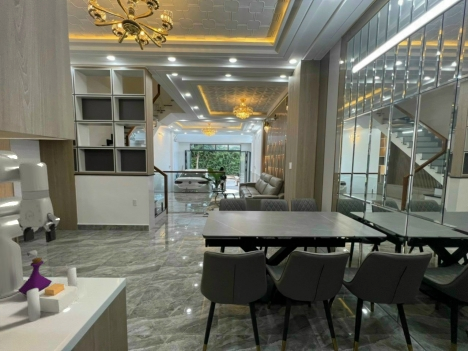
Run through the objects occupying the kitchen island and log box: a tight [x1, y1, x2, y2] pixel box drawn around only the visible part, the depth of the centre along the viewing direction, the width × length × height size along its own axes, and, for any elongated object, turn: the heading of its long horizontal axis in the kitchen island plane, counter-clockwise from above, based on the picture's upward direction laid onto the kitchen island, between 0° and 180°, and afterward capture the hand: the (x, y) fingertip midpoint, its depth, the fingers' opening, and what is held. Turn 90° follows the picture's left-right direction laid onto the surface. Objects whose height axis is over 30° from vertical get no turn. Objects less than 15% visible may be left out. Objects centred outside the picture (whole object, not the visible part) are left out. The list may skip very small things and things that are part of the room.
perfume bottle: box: [18, 249, 53, 297], centre depth 90 cm, size 8×8×18 cm
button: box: [45, 282, 65, 296], centre depth 83 cm, size 4×4×4 cm
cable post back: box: [66, 266, 78, 287], centre depth 90 cm, size 3×3×10 cm
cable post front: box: [26, 288, 42, 322], centre depth 75 cm, size 3×3×10 cm
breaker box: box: [39, 284, 79, 314], centre depth 83 cm, size 12×8×5 cm, turn 81°
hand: (40, 240), depth 82 cm, fingers open, 9 cm apart
